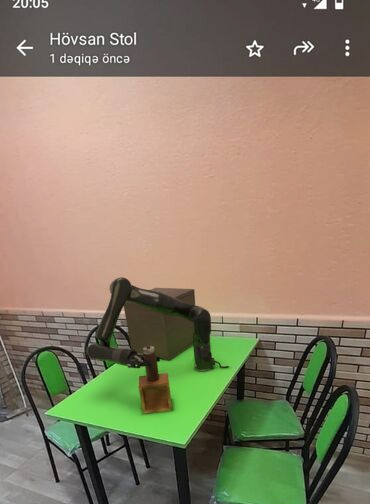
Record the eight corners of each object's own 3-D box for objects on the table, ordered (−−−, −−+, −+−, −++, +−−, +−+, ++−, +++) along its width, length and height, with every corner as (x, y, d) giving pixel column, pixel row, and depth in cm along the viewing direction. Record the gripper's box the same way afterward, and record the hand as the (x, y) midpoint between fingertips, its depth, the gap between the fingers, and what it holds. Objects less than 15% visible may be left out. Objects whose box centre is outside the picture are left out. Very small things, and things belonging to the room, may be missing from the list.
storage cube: (169, 361, 199) (162, 302, 182) (132, 354, 214) (122, 299, 196) (198, 341, 224) (194, 288, 206) (162, 337, 238) (156, 287, 220)
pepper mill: (159, 375, 149) (154, 342, 141) (159, 381, 145) (154, 347, 137) (147, 377, 149) (142, 344, 141) (146, 382, 144) (141, 348, 137)
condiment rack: (171, 399, 158) (167, 372, 151) (172, 410, 150) (168, 382, 143) (143, 402, 158) (139, 376, 151) (143, 413, 150) (138, 385, 142)
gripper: (112, 355, 142) (144, 360, 134) (133, 343, 153) (163, 347, 145) (115, 371, 146) (146, 376, 138) (135, 358, 156) (165, 363, 148)
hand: (155, 361), depth 141 cm, fingers closed on pepper mill, 5 cm apart
